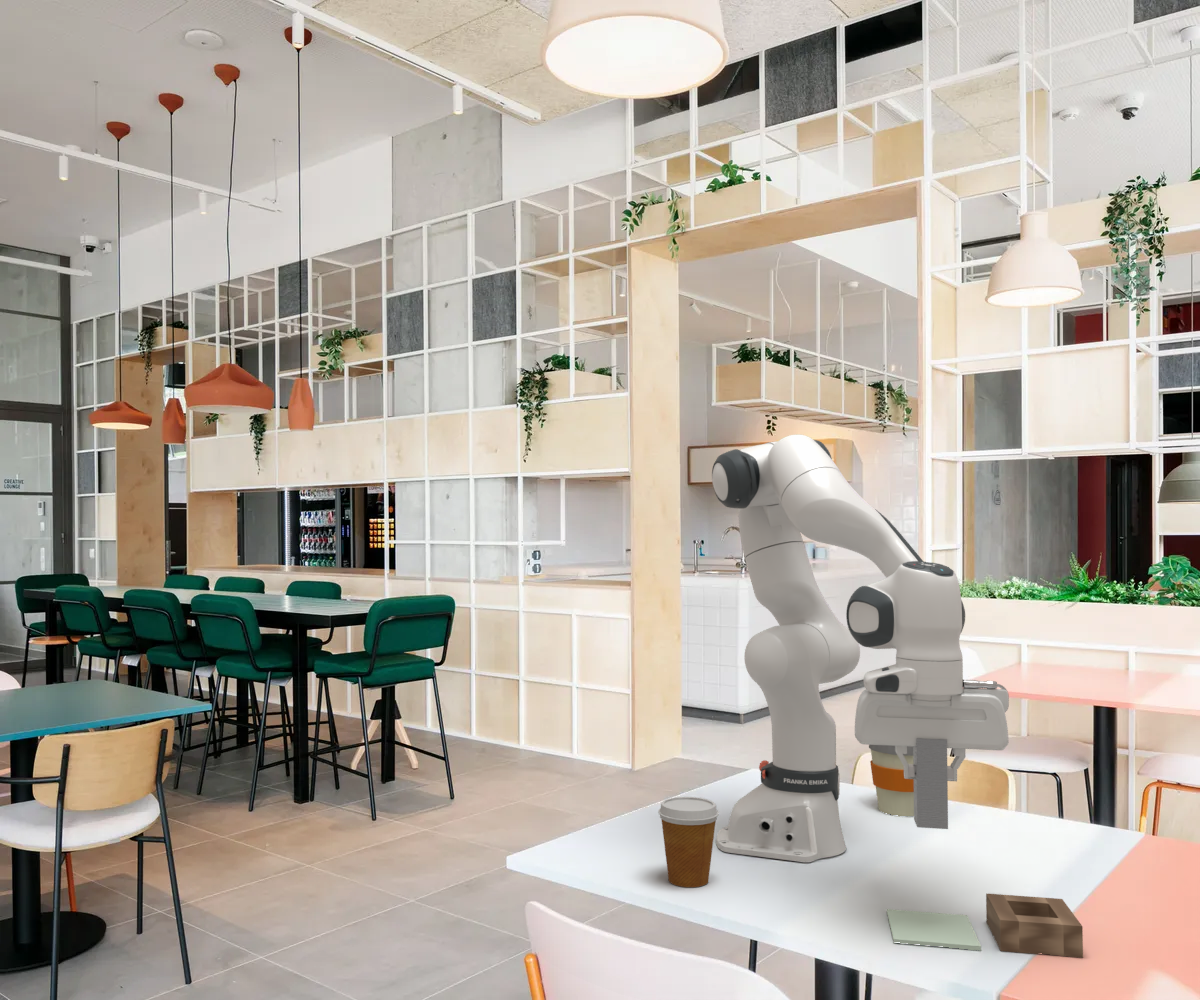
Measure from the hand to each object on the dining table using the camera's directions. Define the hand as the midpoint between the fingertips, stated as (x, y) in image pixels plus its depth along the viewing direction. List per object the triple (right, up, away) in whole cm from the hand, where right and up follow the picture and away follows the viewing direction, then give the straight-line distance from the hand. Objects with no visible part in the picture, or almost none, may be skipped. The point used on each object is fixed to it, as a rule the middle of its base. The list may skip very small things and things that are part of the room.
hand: (930, 779), depth 136 cm
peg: (0, -6, 0) cm, 6 cm away
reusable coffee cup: (+15, -24, +60) cm, 66 cm away
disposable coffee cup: (-32, -22, +19) cm, 43 cm away
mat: (0, -21, -1) cm, 21 cm away
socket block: (+13, -21, -4) cm, 24 cm away
